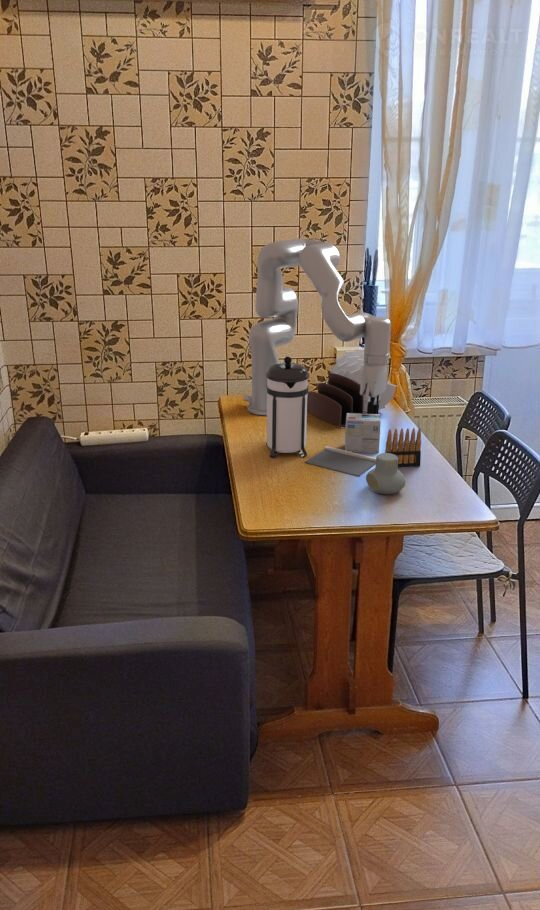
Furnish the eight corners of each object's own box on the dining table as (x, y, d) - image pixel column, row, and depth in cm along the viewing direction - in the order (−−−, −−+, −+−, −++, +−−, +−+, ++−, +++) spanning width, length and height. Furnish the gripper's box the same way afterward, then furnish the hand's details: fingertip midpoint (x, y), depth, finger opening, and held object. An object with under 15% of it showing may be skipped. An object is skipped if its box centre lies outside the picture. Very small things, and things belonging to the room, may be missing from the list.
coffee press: (322, 450, 238) (326, 355, 226) (288, 464, 227) (289, 366, 215) (281, 435, 249) (282, 345, 237) (246, 449, 238) (246, 355, 226)
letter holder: (329, 407, 276) (330, 369, 270) (363, 423, 260) (365, 384, 255) (306, 412, 271) (307, 373, 265) (339, 429, 255) (341, 388, 250)
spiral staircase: (359, 426, 269) (338, 400, 291) (404, 403, 269) (379, 379, 291) (340, 383, 260) (320, 360, 282) (387, 359, 260) (362, 338, 282)
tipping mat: (304, 462, 228) (304, 459, 228) (326, 448, 238) (326, 445, 238) (358, 476, 219) (359, 473, 219) (379, 461, 229) (379, 458, 229)
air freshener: (362, 484, 214) (364, 451, 211) (388, 480, 217) (390, 447, 213) (381, 500, 205) (383, 466, 201) (408, 496, 208) (411, 462, 204)
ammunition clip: (418, 464, 228) (421, 426, 223) (420, 466, 226) (423, 428, 222) (383, 465, 227) (386, 427, 222) (384, 468, 225) (387, 429, 221)
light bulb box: (378, 445, 242) (380, 413, 237) (379, 453, 235) (381, 420, 231) (344, 444, 242) (346, 411, 238) (344, 452, 236) (346, 419, 232)
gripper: (375, 351, 241) (372, 406, 248) (353, 362, 229) (350, 420, 236) (397, 355, 237) (393, 411, 244) (376, 366, 226) (373, 424, 233)
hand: (372, 415), depth 240 cm, fingers closed
